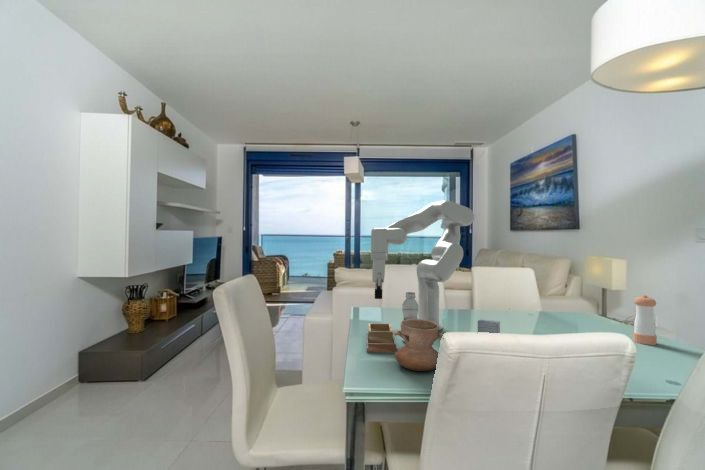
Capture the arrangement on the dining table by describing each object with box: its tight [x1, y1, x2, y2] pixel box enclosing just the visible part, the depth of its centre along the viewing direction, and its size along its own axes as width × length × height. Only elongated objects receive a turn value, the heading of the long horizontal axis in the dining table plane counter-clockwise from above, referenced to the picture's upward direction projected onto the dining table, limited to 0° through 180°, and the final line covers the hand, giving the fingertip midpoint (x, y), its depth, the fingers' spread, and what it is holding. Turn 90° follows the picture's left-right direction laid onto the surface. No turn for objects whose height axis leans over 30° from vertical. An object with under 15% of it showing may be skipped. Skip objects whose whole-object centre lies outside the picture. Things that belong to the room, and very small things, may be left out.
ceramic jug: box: [392, 318, 444, 372], centre depth 111 cm, size 18×14×14 cm
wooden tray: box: [365, 329, 399, 354], centre depth 134 cm, size 24×11×4 cm, turn 178°
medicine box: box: [477, 318, 501, 334], centre depth 138 cm, size 8×4×9 cm, turn 58°
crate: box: [367, 322, 394, 344], centre depth 138 cm, size 13×9×4 cm
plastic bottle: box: [401, 291, 419, 343], centre depth 135 cm, size 6×7×20 cm
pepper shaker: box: [632, 294, 658, 346], centre depth 139 cm, size 7×7×19 cm
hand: (378, 298), depth 148 cm, fingers closed
